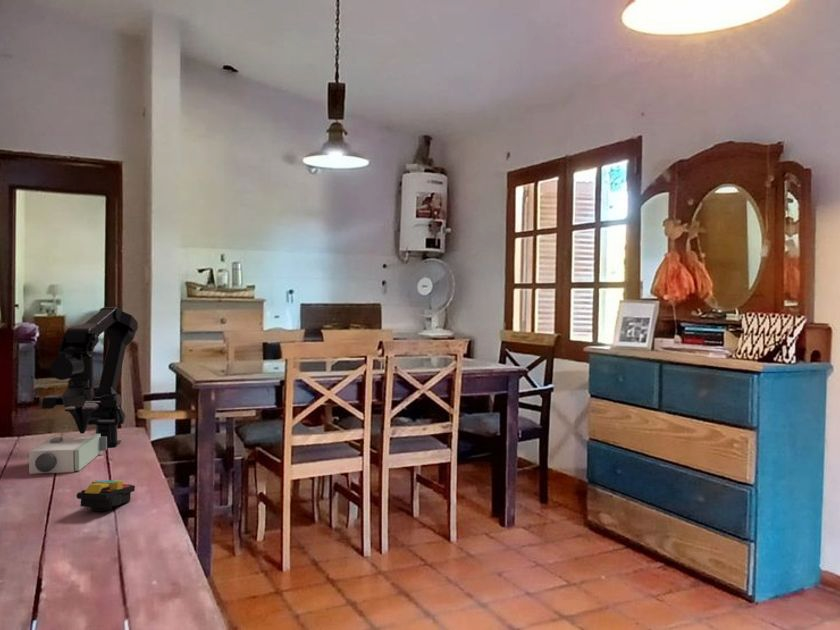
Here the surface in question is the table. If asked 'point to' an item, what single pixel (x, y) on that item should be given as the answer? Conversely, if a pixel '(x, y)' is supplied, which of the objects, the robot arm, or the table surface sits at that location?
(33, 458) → the camera case
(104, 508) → the gadget
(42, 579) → the table surface
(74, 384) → the robot arm
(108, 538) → the table surface
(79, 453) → the side door
